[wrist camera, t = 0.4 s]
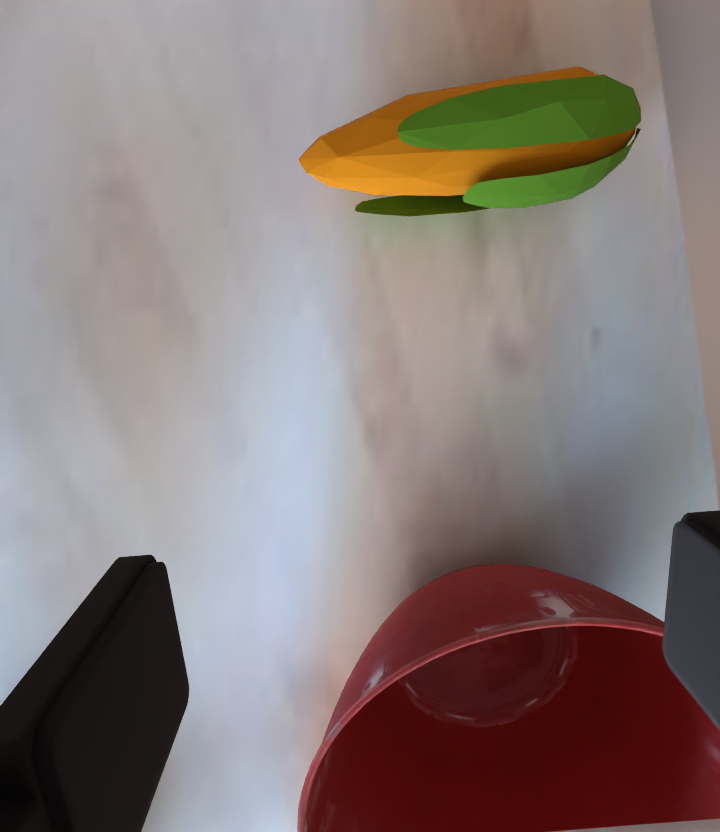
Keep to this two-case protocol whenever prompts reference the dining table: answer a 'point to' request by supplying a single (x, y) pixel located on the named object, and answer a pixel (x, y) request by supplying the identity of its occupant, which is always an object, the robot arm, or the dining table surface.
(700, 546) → the robot arm
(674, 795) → the mixing bowl
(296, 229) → the dining table surface
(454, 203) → the corn
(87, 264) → the dining table surface
